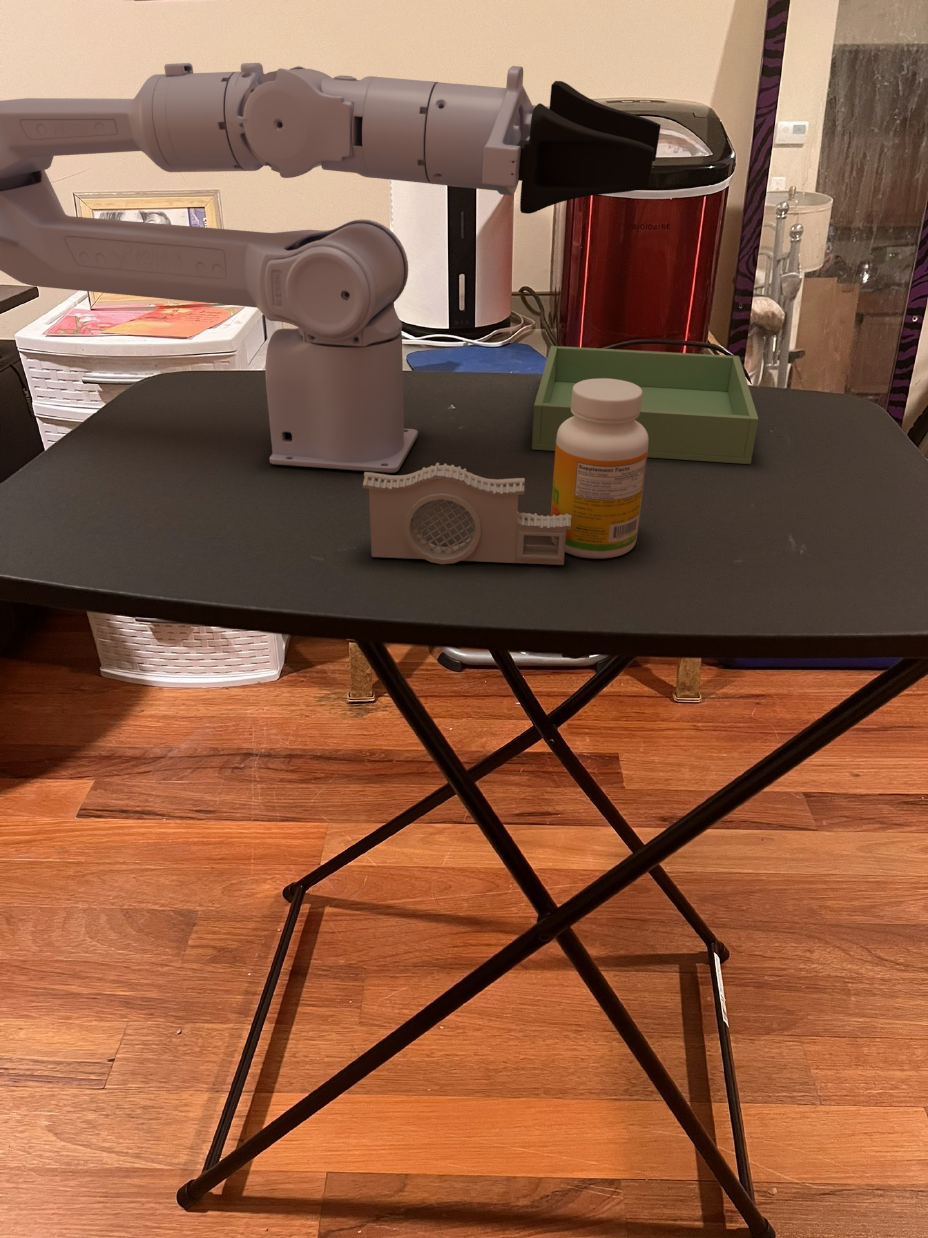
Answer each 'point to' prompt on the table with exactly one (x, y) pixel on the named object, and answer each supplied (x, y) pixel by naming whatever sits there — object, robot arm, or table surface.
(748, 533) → the table surface
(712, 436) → the basket
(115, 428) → the table surface
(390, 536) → the garden wall model
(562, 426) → the supplement bottle
